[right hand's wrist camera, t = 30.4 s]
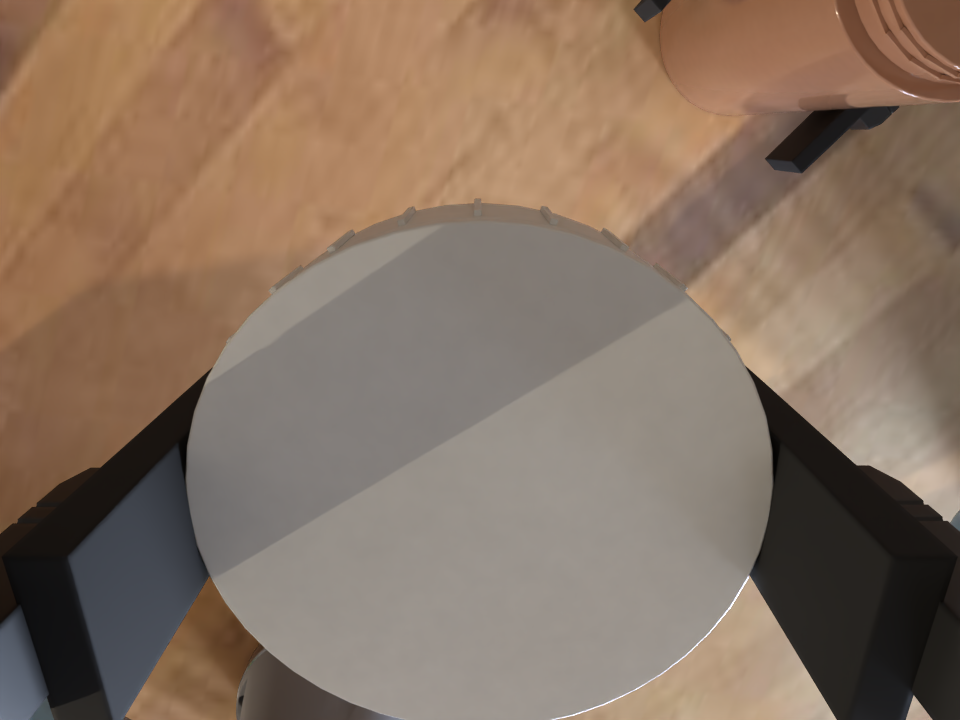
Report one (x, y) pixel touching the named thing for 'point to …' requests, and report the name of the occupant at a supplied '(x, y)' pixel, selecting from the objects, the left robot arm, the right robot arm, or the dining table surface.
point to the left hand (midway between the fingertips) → (717, 90)
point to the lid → (479, 468)
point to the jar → (811, 54)
